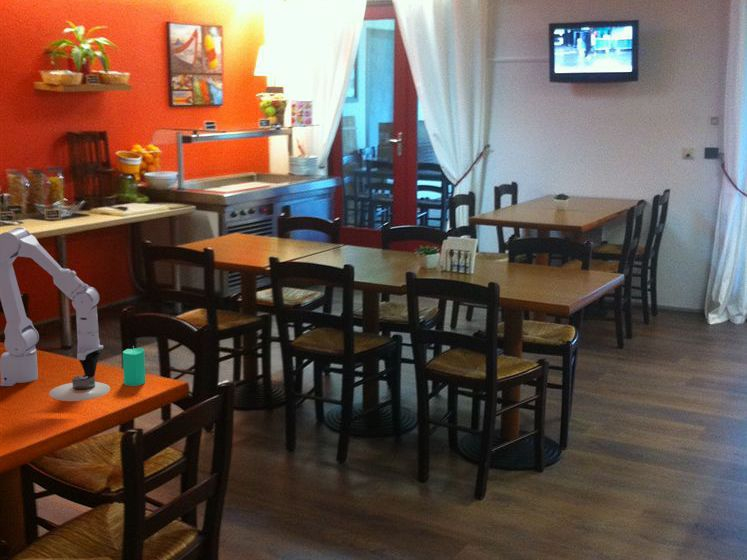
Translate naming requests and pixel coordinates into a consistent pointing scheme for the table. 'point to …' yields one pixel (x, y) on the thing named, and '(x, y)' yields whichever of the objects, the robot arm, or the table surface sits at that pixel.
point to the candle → (134, 366)
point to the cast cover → (83, 382)
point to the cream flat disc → (78, 392)
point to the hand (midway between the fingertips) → (90, 376)
